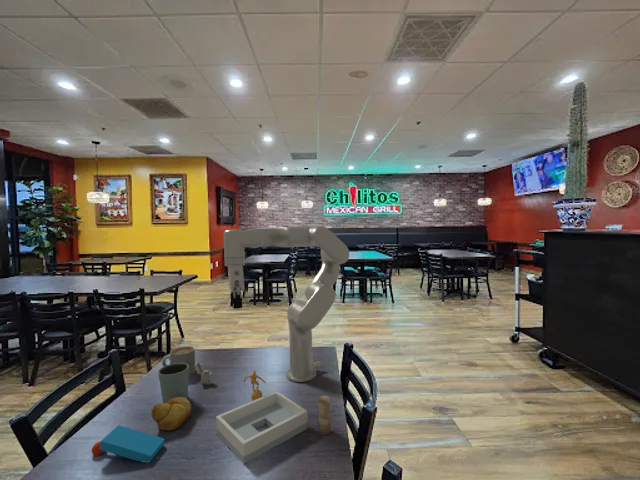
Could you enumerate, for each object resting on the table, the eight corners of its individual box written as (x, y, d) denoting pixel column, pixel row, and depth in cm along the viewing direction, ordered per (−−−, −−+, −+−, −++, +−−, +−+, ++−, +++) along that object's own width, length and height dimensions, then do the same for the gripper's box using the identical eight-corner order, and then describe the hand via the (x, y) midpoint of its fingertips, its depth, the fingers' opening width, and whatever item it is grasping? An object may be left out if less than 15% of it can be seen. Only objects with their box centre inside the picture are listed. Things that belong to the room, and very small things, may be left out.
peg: (325, 425, 99) (324, 394, 99) (332, 431, 96) (332, 398, 96) (316, 430, 97) (315, 398, 96) (324, 436, 94) (323, 403, 94)
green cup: (194, 399, 116) (193, 367, 116) (165, 411, 109) (164, 377, 108) (182, 390, 123) (181, 360, 123) (155, 401, 116) (153, 368, 115)
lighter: (212, 382, 129) (211, 363, 129) (209, 384, 127) (209, 365, 127) (197, 381, 131) (196, 362, 130) (194, 383, 129) (193, 363, 129)
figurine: (269, 398, 116) (268, 366, 115) (263, 408, 110) (262, 374, 109) (248, 397, 117) (247, 365, 117) (241, 405, 111) (240, 372, 111)
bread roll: (176, 409, 110) (175, 386, 110) (200, 412, 108) (200, 389, 108) (148, 432, 98) (147, 406, 98) (175, 436, 96) (174, 410, 95)
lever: (159, 461, 92) (101, 444, 92) (164, 438, 91) (106, 421, 92) (145, 480, 85) (82, 461, 85) (151, 455, 84) (88, 437, 85)
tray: (276, 406, 111) (276, 391, 110) (307, 428, 98) (307, 411, 98) (216, 434, 96) (216, 416, 96) (243, 464, 83) (243, 443, 83)
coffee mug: (199, 367, 144) (198, 346, 143) (189, 377, 134) (188, 354, 134) (170, 367, 144) (169, 346, 144) (158, 377, 134) (157, 354, 134)
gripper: (248, 262, 115) (249, 309, 115) (241, 259, 131) (243, 300, 131) (226, 264, 112) (228, 312, 113) (222, 260, 128) (224, 302, 129)
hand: (236, 305), depth 122 cm, fingers open, 9 cm apart
